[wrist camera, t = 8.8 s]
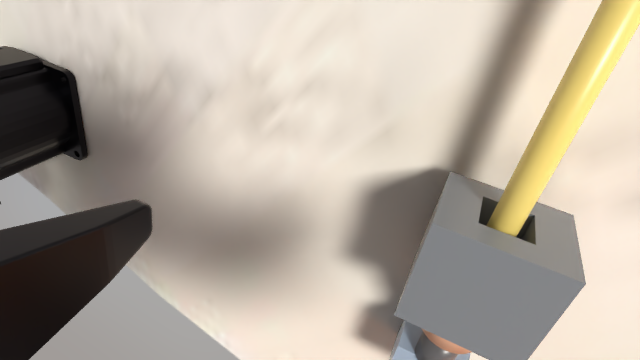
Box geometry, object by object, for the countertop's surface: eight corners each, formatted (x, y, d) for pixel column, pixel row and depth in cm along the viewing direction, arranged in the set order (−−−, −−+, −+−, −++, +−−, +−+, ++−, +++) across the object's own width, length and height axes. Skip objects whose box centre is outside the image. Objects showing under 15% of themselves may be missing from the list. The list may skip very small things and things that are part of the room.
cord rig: (493, 379, 23) (486, 469, 19) (362, 317, 25) (331, 386, 21) (1056, -399, 8) (1589, -753, 4) (614, -396, 10) (673, -626, 6)
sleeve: (518, 298, 19) (517, 373, 16) (415, 255, 20) (393, 315, 17) (573, 215, 16) (585, 283, 13) (450, 171, 17) (432, 223, 14)
